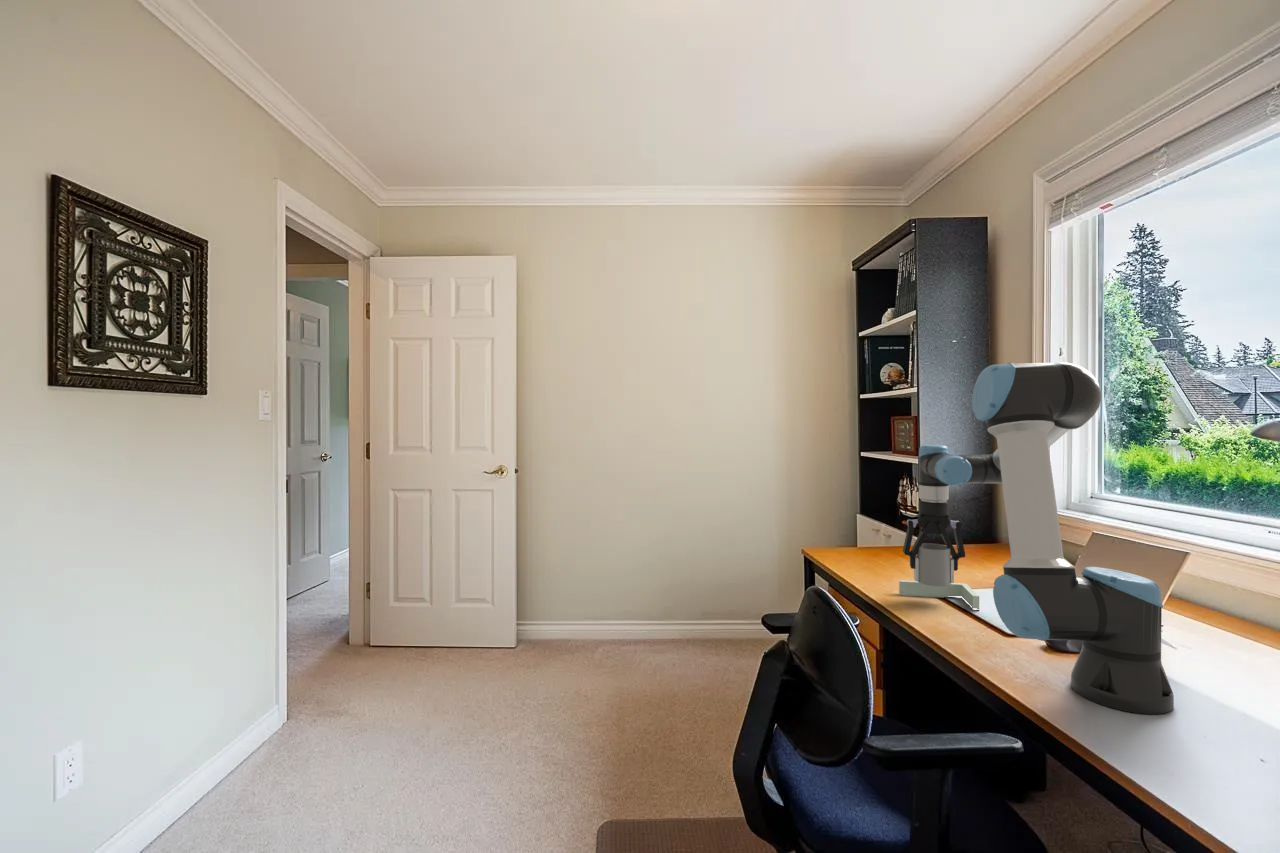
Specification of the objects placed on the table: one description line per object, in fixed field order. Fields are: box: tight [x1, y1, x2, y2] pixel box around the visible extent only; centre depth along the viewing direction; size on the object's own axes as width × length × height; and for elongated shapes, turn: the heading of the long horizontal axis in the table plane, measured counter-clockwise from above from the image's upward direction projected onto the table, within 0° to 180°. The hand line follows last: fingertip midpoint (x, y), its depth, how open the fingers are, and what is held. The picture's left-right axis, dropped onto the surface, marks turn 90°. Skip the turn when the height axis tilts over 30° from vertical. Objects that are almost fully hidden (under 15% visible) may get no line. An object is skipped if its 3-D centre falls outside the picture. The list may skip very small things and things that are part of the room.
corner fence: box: [898, 579, 980, 610], centre depth 171 cm, size 12×18×4 cm
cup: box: [916, 542, 951, 586], centre depth 169 cm, size 8×8×10 cm
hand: (933, 580), depth 169 cm, fingers closed on cup, 8 cm apart
